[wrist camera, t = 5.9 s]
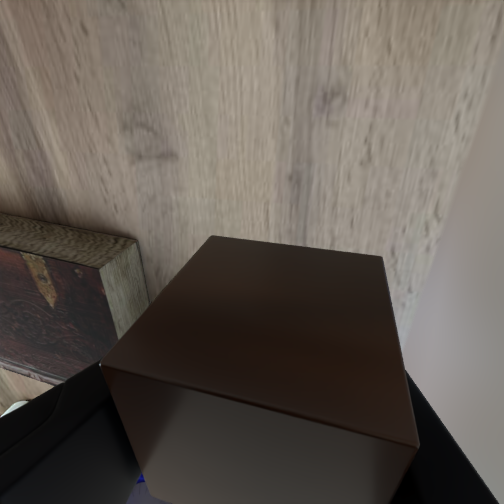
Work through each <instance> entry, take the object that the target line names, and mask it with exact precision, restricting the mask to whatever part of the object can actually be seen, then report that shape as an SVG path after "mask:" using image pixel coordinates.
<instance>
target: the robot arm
mask: <svg viewBox="0 0 504 504" xmlns="http://www.w3.org/2000/svg"><path fill="white" fill-rule="evenodd" d="M101 360H102V359H100V360H98V361H97V362H95V363H93V364H92V365H90V366H88V367H87V368H85V369H83V370H82V371H80V372H78V373H77V374H75V375H73V376H72V377H70V378H68V379H67V380H65V382H62V383H60V384H58V385H56V386H55V387H53V388H51V389H50V390H48V391H46V392H45V393H43V394H41V395H40V396H38V397H36V398H34V399H33V400H31V401H29V402H27V403H26V404H24V405H22V406H20V407H19V408H17V409H15V410H13V411H11V412H9V413H7V414H6V415H4V416H2V417H0V504H126V503H127V501H128V499H129V497H130V495H131V493H132V491H133V489H134V487H135V485H136V483H137V481H138V479H139V477H140V475H141V473H142V472H141V469H140V467H139V464H138V462H137V459H136V457H135V454H134V452H133V449H132V447H131V444H130V441H129V439H128V436H127V434H126V431H125V429H124V426H123V424H122V421H121V419H120V416H119V414H118V411H117V408H116V406H115V403H114V401H113V398H112V396H111V393H110V391H109V388H108V386H107V383H106V380H105V378H104V375H103V373H102V370H101V368H100V365H99V364H100V361H101ZM405 372H406V377H407V382H408V387H409V392H410V397H411V402H412V407H413V412H414V417H415V422H416V427H417V433H418V438H419V443H420V446H419V449H418V451H417V453H416V455H415V457H414V459H413V461H412V463H411V465H410V467H409V469H408V471H407V472H406V474H405V476H404V478H403V480H402V482H401V484H400V486H399V488H398V490H397V492H396V494H395V496H394V498H393V499H392V501H391V503H390V504H499V503H498V501H497V500H496V498H495V497H494V495H493V494H492V493H491V491H490V490H489V488H488V487H487V485H486V484H485V483H484V481H483V480H482V478H481V477H480V475H479V474H478V473H477V471H476V470H475V468H474V467H473V465H472V464H471V463H470V461H469V460H468V458H467V457H466V455H465V454H464V453H463V451H462V450H461V448H460V447H459V446H458V444H457V443H456V441H455V440H454V439H453V437H452V436H451V434H450V433H449V431H448V430H447V428H446V427H445V426H444V424H443V423H442V421H441V420H440V418H439V417H438V416H437V414H436V413H435V411H434V410H433V408H432V407H431V406H430V404H429V403H428V401H427V400H426V398H425V397H424V396H423V394H422V393H421V391H420V390H419V388H418V387H417V386H416V384H415V383H414V381H413V380H412V378H411V377H410V376H409V374H408V373H407V371H406V370H405Z"/></svg>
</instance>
